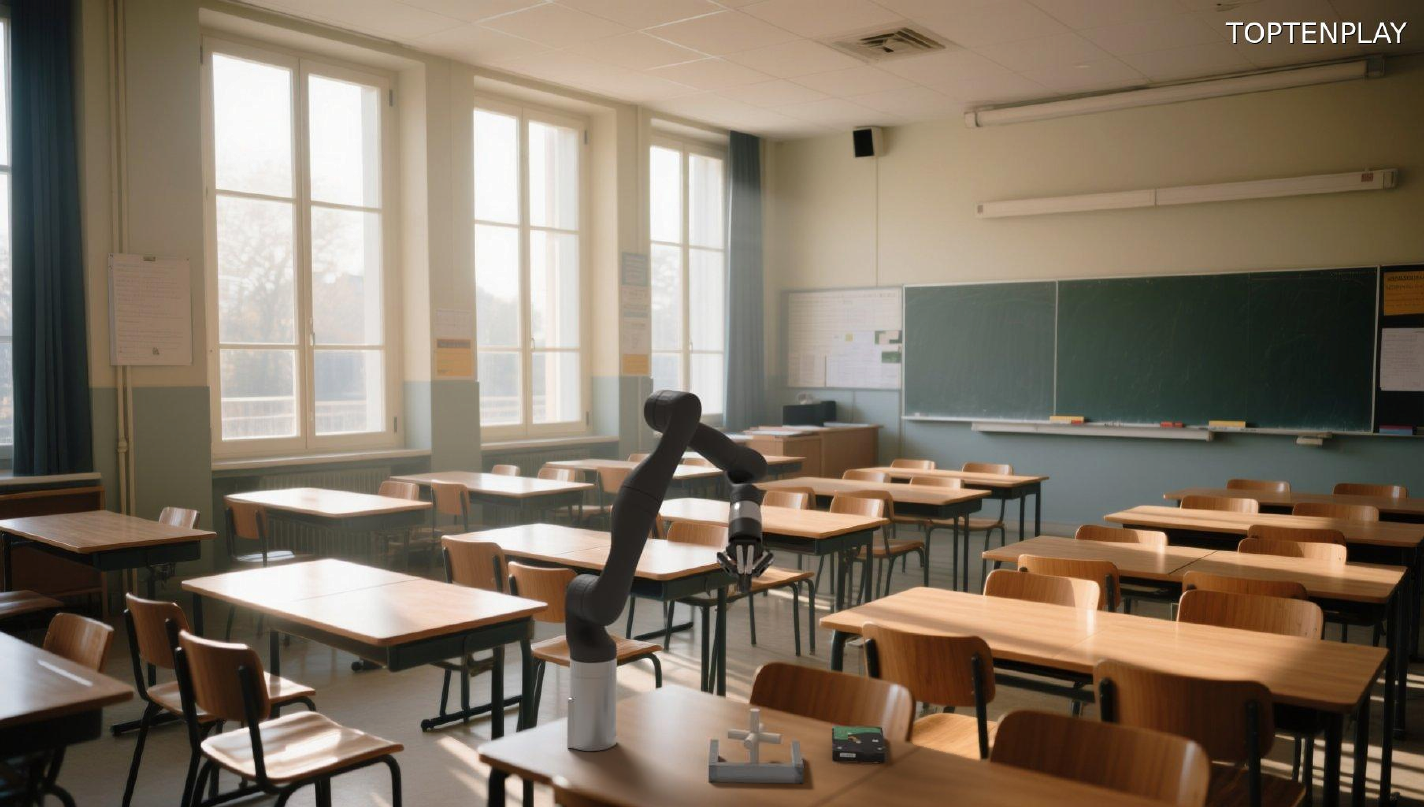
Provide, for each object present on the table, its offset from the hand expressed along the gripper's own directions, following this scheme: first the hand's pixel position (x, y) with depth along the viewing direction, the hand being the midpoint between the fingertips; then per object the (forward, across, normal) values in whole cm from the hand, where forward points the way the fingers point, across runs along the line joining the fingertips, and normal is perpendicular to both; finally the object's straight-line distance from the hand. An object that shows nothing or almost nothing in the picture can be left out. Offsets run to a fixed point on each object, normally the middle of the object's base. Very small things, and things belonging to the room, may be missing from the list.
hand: (744, 591), depth 213 cm
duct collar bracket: (+38, +2, +2) cm, 38 cm away
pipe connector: (+36, +2, +4) cm, 36 cm away
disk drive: (+30, +22, +10) cm, 39 cm away
